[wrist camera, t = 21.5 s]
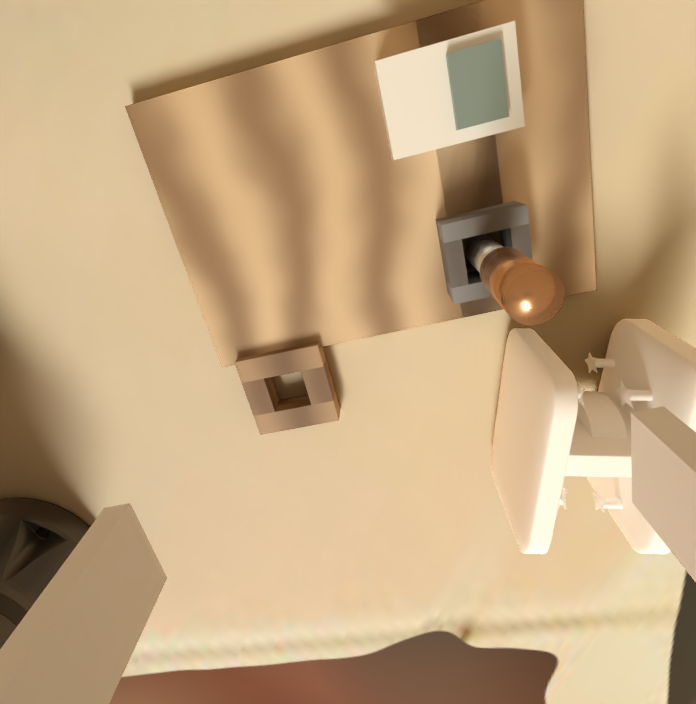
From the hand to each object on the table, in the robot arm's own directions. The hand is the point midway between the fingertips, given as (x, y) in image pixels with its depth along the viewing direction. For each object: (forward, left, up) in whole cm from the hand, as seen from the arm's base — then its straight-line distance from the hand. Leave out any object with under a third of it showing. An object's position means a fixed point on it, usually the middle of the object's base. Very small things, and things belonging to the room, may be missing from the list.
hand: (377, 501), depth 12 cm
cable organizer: (+13, -14, -27) cm, 33 cm away
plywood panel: (+1, +5, -27) cm, 27 cm away
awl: (+8, 0, -26) cm, 27 cm away
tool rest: (-9, -8, -27) cm, 29 cm away
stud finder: (+7, +10, -26) cm, 28 cm away
